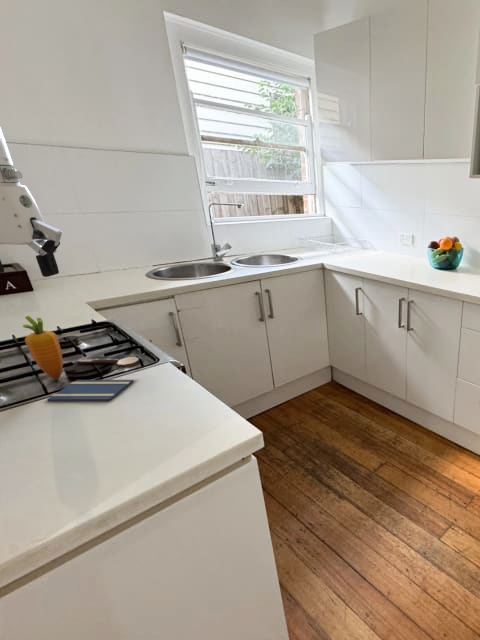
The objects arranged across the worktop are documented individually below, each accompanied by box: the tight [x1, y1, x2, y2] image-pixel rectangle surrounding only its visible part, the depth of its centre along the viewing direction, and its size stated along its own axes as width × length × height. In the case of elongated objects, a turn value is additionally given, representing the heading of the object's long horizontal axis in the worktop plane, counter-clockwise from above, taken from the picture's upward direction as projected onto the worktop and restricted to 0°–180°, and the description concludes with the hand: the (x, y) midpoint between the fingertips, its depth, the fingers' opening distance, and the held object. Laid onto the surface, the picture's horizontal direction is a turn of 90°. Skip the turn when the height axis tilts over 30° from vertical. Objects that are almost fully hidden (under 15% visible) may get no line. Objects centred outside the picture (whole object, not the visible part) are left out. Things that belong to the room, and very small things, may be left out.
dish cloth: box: [46, 379, 134, 402], centre depth 81 cm, size 12×8×1 cm, turn 93°
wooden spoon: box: [77, 356, 140, 369], centre depth 93 cm, size 14×4×1 cm, turn 93°
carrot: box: [22, 315, 64, 381], centre depth 82 cm, size 5×5×15 cm
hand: (23, 274), depth 72 cm, fingers open, 9 cm apart
